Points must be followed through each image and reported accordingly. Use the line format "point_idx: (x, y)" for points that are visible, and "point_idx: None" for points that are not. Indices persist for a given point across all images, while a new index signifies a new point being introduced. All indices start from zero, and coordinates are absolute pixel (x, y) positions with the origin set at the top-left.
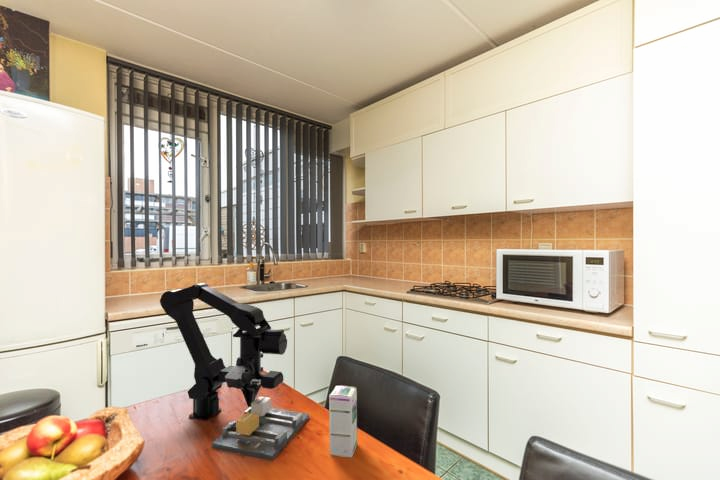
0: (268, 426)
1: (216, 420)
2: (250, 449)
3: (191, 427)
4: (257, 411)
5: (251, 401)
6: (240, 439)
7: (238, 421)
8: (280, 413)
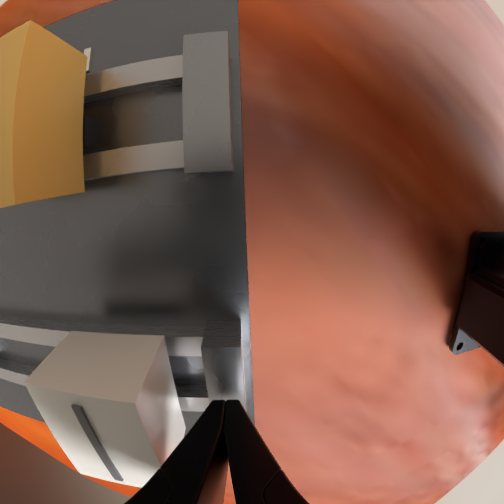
0: (24, 274)
1: (429, 258)
2: None
3: (490, 153)
4: (91, 350)
5: (188, 436)
6: None
7: (17, 30)
8: None
